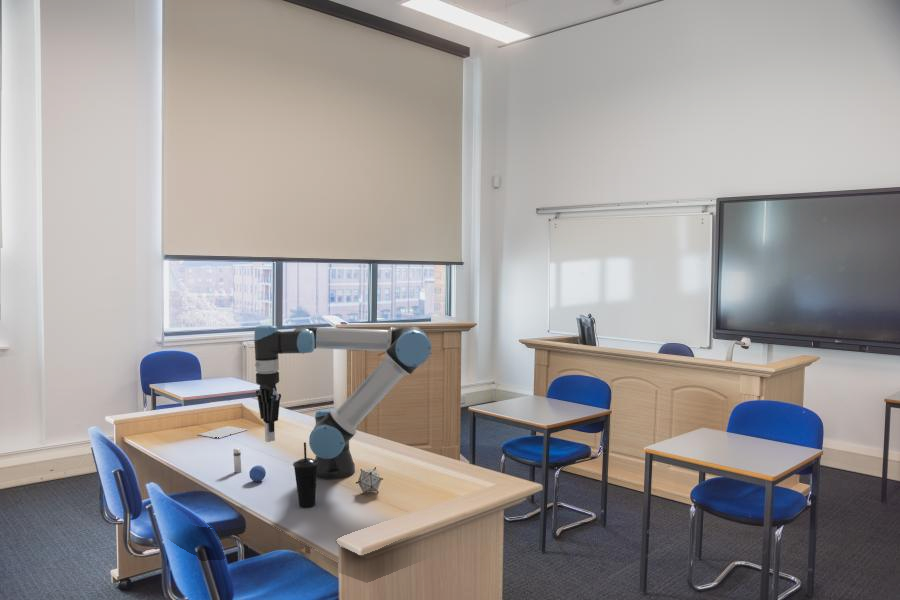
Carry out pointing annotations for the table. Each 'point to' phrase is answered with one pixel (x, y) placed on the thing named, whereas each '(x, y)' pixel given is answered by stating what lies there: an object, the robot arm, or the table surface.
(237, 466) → the pin
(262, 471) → the ball
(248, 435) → the table surface
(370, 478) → the game die
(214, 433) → the paper stack
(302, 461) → the drinking cup
